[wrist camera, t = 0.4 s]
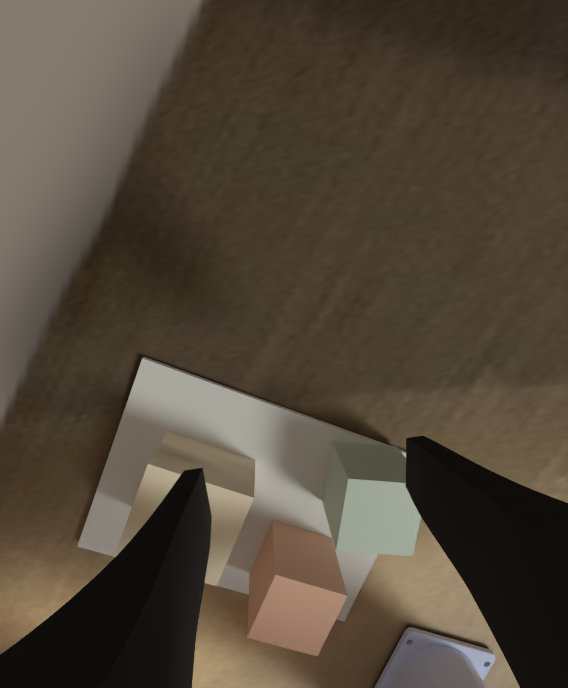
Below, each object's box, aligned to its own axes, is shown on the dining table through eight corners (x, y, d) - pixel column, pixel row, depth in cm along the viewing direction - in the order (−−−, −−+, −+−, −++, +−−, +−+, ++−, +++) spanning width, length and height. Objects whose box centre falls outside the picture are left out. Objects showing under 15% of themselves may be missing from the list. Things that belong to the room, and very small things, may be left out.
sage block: (384, 505, 24) (412, 555, 19) (321, 500, 23) (335, 551, 19) (396, 445, 23) (428, 484, 19) (331, 440, 23) (348, 478, 18)
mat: (342, 616, 26) (344, 621, 25) (80, 542, 23) (77, 546, 23) (422, 457, 24) (425, 460, 23) (144, 356, 21) (142, 358, 21)
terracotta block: (307, 589, 25) (317, 656, 20) (249, 572, 24) (246, 637, 20) (331, 538, 24) (347, 595, 20) (272, 519, 23) (275, 574, 19)
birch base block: (224, 535, 23) (216, 586, 20) (139, 509, 23) (113, 557, 19) (255, 460, 23) (254, 497, 19) (168, 431, 22) (148, 463, 18)
